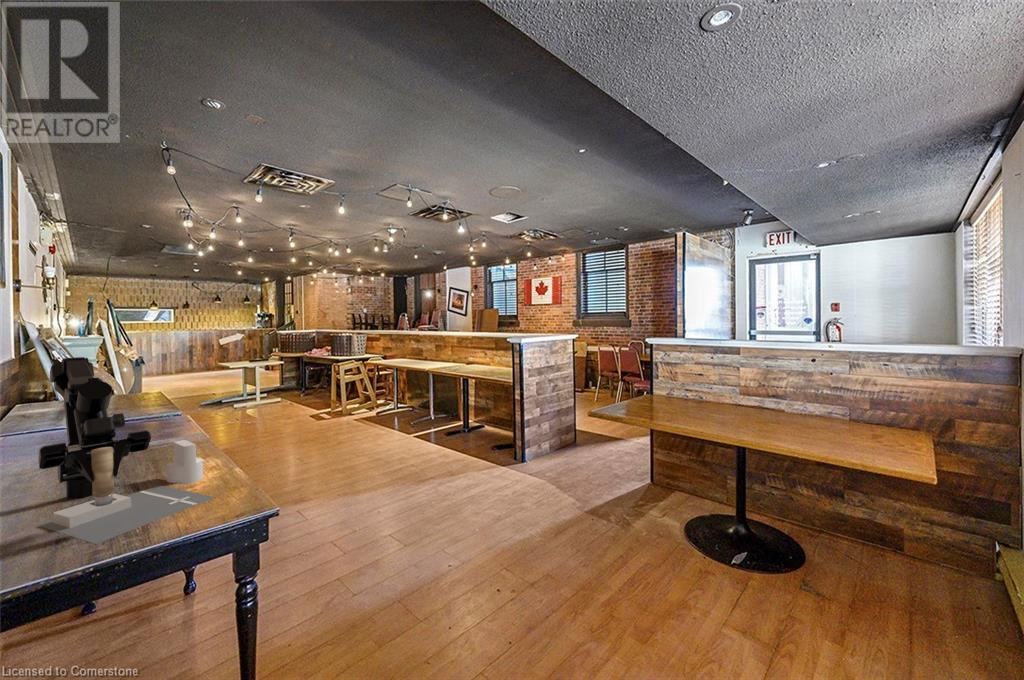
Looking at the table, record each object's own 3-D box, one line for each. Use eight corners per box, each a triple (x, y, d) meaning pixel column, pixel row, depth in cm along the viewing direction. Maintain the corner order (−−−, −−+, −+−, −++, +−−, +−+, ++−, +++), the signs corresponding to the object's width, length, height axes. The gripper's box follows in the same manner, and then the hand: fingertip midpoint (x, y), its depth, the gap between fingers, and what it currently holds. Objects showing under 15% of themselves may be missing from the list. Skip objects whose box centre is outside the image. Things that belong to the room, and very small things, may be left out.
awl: (89, 505, 96) (87, 450, 96) (108, 499, 100) (106, 446, 99) (99, 508, 95) (97, 452, 95) (118, 501, 99) (116, 447, 98)
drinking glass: (208, 479, 131) (207, 442, 131) (173, 488, 124) (172, 449, 123) (196, 473, 136) (195, 437, 136) (162, 482, 129) (161, 444, 128)
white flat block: (53, 522, 100) (52, 512, 100) (114, 502, 111) (114, 493, 111) (69, 528, 98) (69, 517, 98) (131, 506, 109) (130, 497, 109)
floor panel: (36, 529, 99) (35, 524, 99) (159, 489, 123) (159, 484, 123) (95, 549, 91) (95, 543, 91) (215, 501, 115) (215, 497, 115)
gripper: (38, 410, 91) (46, 471, 85) (148, 398, 106) (162, 449, 100) (35, 439, 96) (43, 498, 90) (140, 424, 111) (153, 473, 105)
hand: (104, 478), depth 96 cm, fingers closed on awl, 4 cm apart
